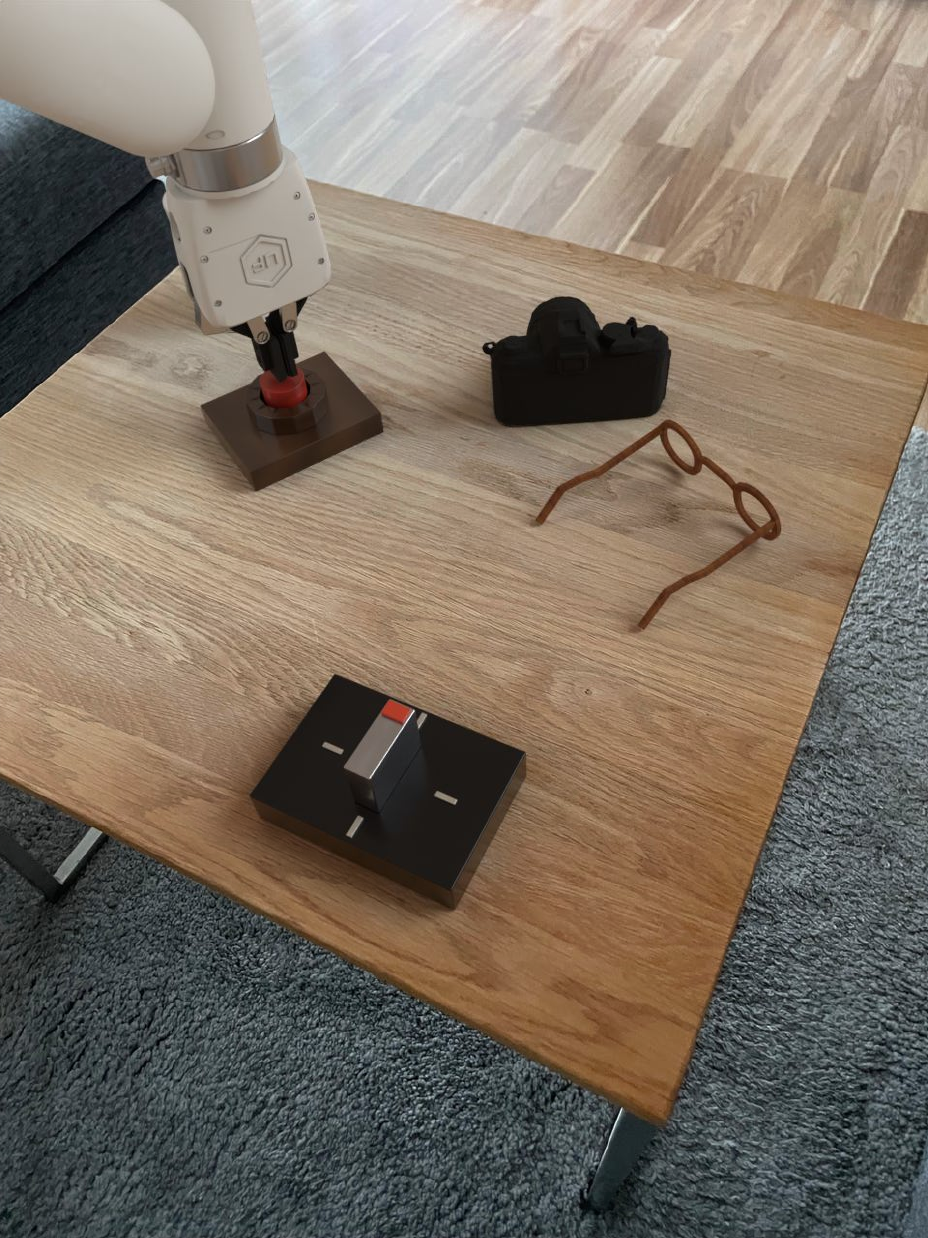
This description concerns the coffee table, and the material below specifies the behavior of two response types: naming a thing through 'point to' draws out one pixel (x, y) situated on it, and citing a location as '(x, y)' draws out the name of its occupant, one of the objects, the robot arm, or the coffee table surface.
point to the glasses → (698, 461)
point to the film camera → (577, 368)
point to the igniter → (292, 423)
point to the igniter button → (283, 390)
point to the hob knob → (383, 755)
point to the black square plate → (393, 794)
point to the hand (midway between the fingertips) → (281, 369)
